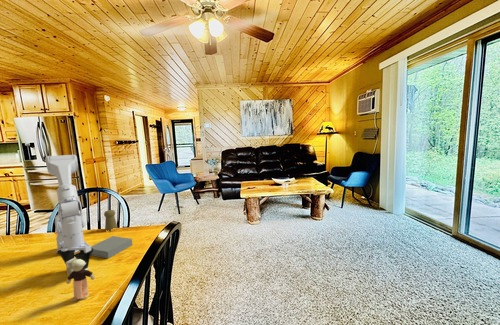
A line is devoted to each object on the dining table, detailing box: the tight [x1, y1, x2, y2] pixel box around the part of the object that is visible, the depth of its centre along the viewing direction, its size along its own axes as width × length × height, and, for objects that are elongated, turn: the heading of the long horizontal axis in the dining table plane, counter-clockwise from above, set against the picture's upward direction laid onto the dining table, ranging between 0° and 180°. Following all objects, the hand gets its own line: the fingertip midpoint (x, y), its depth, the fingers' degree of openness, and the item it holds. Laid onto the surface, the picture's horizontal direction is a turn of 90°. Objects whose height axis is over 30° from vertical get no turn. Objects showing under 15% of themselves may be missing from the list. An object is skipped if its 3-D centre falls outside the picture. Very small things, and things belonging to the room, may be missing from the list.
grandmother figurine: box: [65, 259, 96, 302], centre depth 66 cm, size 8×4×13 cm, turn 114°
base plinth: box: [91, 235, 133, 259], centre depth 96 cm, size 12×12×3 cm
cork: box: [103, 209, 119, 232], centre depth 118 cm, size 6×6×11 cm
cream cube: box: [65, 256, 89, 276], centre depth 80 cm, size 4×4×5 cm
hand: (77, 267), depth 80 cm, fingers open, 7 cm apart
